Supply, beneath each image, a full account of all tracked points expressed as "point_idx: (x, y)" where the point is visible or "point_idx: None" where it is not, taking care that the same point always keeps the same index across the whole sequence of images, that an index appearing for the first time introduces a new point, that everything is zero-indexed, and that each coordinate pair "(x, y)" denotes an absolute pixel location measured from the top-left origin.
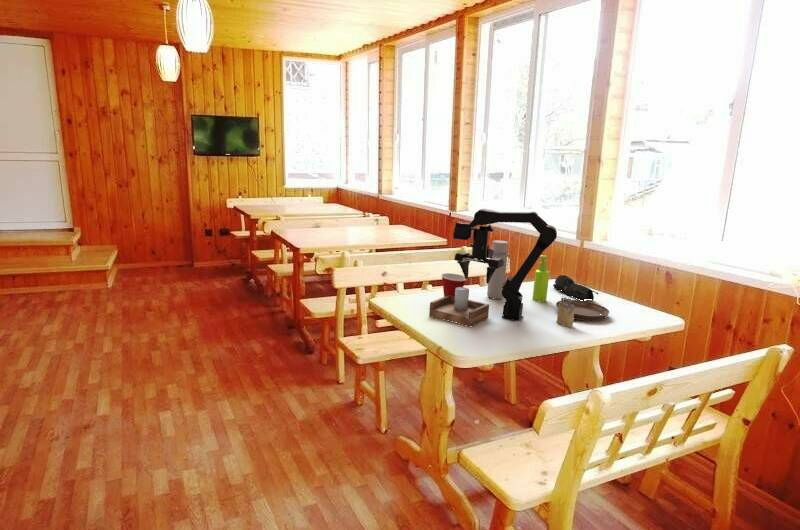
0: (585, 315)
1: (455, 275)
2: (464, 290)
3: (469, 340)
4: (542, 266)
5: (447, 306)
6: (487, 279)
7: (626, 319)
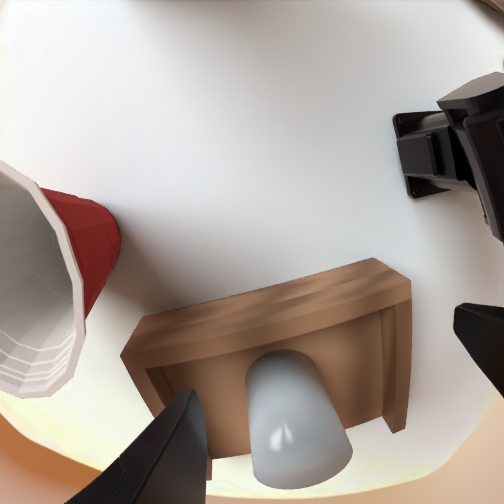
0: None
1: None
2: (336, 468)
3: (421, 438)
4: None
5: (211, 402)
6: (490, 363)
7: None
